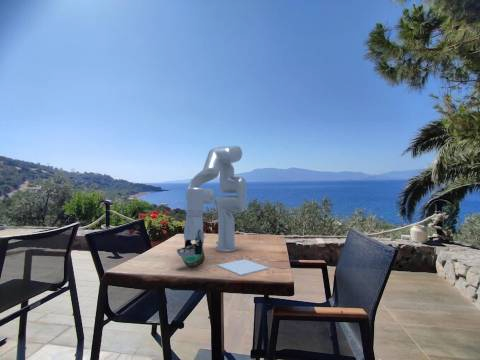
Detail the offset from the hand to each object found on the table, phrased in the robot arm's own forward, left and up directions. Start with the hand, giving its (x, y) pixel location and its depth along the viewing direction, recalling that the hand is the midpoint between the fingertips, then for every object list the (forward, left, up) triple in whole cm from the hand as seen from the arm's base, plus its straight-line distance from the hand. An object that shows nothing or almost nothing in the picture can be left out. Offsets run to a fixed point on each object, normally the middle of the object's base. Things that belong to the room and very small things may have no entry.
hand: (193, 252), depth 126 cm
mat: (+12, +19, -7) cm, 23 cm away
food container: (-1, +2, -6) cm, 7 cm away
